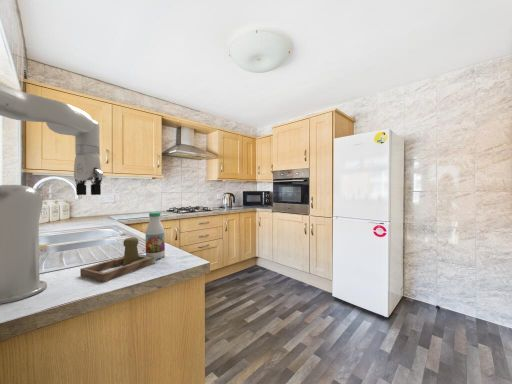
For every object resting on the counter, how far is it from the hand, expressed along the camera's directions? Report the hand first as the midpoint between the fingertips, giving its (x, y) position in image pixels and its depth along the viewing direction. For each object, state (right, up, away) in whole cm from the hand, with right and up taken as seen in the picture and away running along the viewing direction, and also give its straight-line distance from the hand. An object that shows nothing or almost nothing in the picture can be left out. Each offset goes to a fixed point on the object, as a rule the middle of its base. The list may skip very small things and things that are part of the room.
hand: (88, 194), depth 84 cm
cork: (+16, -28, +1) cm, 33 cm away
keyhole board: (+15, -28, -3) cm, 32 cm away
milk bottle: (+21, -28, +11) cm, 37 cm away
